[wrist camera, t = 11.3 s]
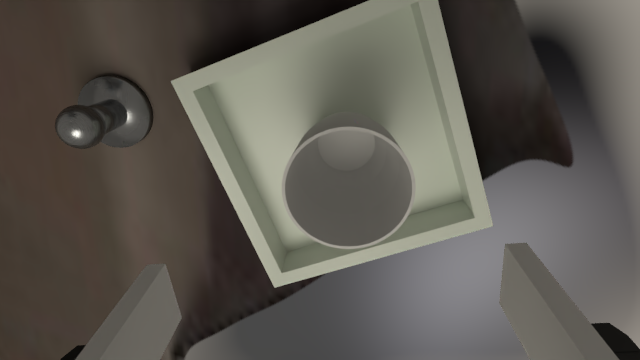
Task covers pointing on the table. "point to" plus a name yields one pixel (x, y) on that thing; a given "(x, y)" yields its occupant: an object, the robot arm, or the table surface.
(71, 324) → the table surface
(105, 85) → the stud post
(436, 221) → the bin
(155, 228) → the table surface
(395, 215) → the cup
